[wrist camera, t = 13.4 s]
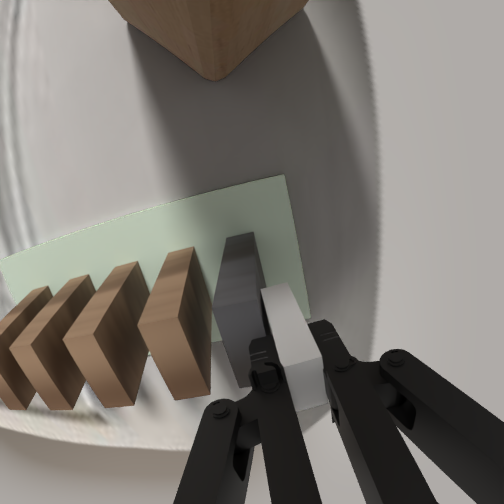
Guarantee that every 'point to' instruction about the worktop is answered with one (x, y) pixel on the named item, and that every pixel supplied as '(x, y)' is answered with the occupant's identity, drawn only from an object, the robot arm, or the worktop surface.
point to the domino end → (3, 362)
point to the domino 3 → (180, 325)
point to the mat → (173, 242)
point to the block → (208, 28)
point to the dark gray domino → (240, 302)
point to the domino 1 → (54, 346)
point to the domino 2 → (112, 337)
